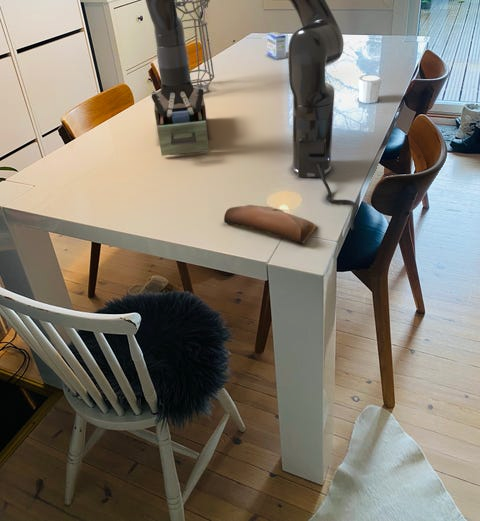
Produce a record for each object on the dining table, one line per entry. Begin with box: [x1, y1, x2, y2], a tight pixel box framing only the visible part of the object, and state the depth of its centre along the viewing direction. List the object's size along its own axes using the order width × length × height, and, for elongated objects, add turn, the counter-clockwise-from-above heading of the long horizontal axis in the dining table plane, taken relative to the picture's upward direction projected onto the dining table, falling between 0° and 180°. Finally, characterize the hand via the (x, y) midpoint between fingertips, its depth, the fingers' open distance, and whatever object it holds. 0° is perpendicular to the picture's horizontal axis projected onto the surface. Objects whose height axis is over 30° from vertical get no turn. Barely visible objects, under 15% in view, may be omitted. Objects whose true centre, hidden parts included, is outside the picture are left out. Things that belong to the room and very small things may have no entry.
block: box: [172, 110, 190, 124], centre depth 135 cm, size 4×4×4 cm
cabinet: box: [153, 86, 209, 138], centre depth 146 cm, size 16×14×10 cm
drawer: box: [156, 110, 210, 157], centre depth 136 cm, size 19×13×8 cm, turn 7°
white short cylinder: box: [358, 74, 382, 104], centre depth 158 cm, size 7×7×7 cm
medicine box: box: [266, 31, 287, 60], centre depth 203 cm, size 8×4×9 cm, turn 25°
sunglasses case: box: [223, 204, 317, 245], centre depth 104 cm, size 18×7×7 cm
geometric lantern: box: [175, 0, 215, 94], centre depth 167 cm, size 16×16×35 cm
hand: (182, 128), depth 135 cm, fingers closed on block, 4 cm apart
